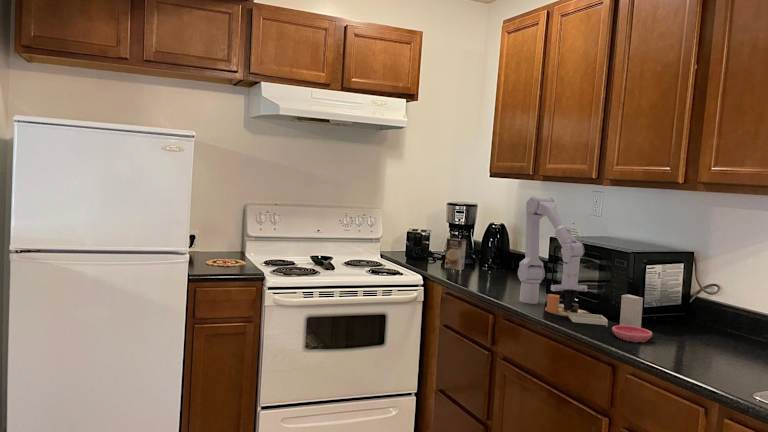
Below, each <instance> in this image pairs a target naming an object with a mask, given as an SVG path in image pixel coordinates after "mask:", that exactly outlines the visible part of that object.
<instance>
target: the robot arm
mask: <svg viewBox="0 0 768 432" xmlns="http://www.w3.org/2000/svg"><path fill="white" fill-rule="evenodd" d="M525 203H526V205H525V207H526V209H525V211H526V212H525V248H524V251H525V255H524V256H525V258H523V259H522V260H521V261H519V263H518V264H519V267H518V269H517V277H518V279H519V281H520V283H521V284H520V291H519V292H520V293H519V302H521V303H524V304H531V305H535V304H538V303H539V294H540V293H539V291H540V284H541V283H542V281H543V280H544V279H545V276H546V271H545V268H544V262H543V261H542V260H541V259H540V258H539V257H540V223H541V222H540V221H541V220H542V219H543V217H546V218H547V220H548V221H549V223H551V225H552V227H553V229H554V230H555V231H554V236H555V237H556V240H558V242H559V244H560V246H561V248H560V253H561V255H562V261H563V265H562V267H563V268H562V275H561V284H551V285H550V291H552V292H559V294H560V297H561V299H562V302H563V303H562V304H564V309H565V310H570V309H571V307H572V304H574V302H575V301H576V298H577V297H578V296H579V292H588V285H581V284H578V283H579V276H580V275H579V272H580V264H581V263H580V262H581V258H582V257H583V256H584V254H585V247H584V244H583V242H580V241H578V240H577V239H576V238H575V236H574V234H573V233H572V231H571V228H570V227H569V226H567V225H564V222H563V221H562V219H561V217H560V214H559V213H558V209H557V203H556V202H555V199H554V198H553V197H550V196H548V197H544V196H530V197H529V198H528V200H526V202H525Z"/></svg>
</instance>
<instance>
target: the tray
mask: <svg viewBox="0 0 768 432" xmlns="http://www.w3.org/2000/svg"><path fill="white" fill-rule="evenodd" d="M567 317H568V318H569V319H570V321H571V322H572V323H579V324H589V325H600V326H606V328H608V324H609V323H608V322H609V320H608V319H607V318H606V317H605V316H603V315H602V314H594V313H593V314H592V313H590V314H583V313H572V312H569V315H568V316H567Z"/></svg>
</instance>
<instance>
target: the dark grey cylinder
mask: <svg viewBox="0 0 768 432" xmlns="http://www.w3.org/2000/svg"><path fill="white" fill-rule="evenodd" d="M559 307H560V308H562V309H564V304H563V303H559ZM578 309H579V304H578V303H573V304H572V307H571V309H570V310H567V312H568V313H569V312H572V313H578Z"/></svg>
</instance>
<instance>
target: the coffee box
mask: <svg viewBox="0 0 768 432" xmlns="http://www.w3.org/2000/svg"><path fill="white" fill-rule="evenodd" d="M466 248H467V240H466V239H461V238H454V237H449V238H446V246H445V249H446V250H445V261H444V268H445V269H449V270H454V271H455V270H456V271H462V270H464V269H465V260H466V259H465V258H466Z"/></svg>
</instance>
